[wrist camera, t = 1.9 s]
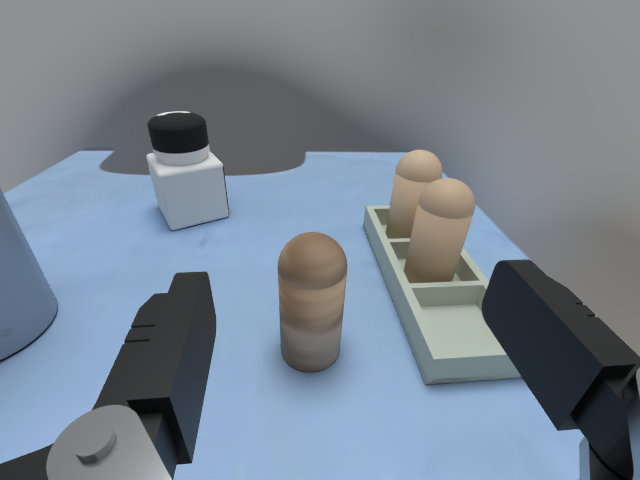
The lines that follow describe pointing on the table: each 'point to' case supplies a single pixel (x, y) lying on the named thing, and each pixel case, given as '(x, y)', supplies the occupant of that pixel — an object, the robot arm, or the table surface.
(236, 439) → the table surface
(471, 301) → the compartment tray
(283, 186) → the table surface
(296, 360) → the round-topped wooden peg
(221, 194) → the medicine bottle
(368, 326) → the table surface
